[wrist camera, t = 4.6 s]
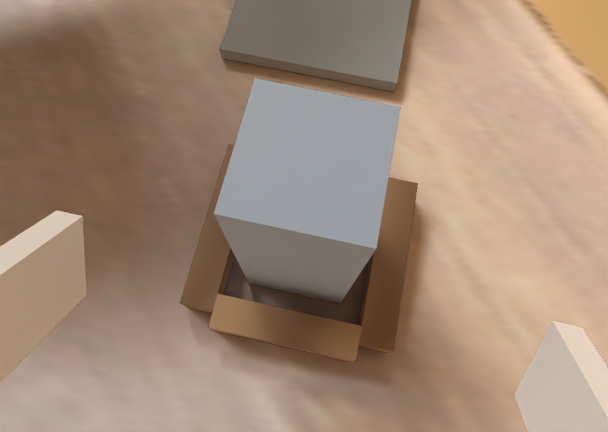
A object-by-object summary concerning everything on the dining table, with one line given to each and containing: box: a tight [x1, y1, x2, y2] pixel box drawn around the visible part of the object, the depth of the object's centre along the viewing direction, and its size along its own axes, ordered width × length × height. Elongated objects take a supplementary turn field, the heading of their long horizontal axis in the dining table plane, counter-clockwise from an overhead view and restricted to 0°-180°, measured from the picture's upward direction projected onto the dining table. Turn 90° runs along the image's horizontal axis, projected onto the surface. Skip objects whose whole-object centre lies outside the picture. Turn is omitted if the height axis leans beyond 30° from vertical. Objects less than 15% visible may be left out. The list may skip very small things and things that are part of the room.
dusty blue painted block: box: [214, 78, 400, 303], centre depth 18 cm, size 4×4×10 cm
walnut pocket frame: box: [180, 145, 418, 362], centre depth 22 cm, size 10×10×2 cm
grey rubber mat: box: [220, 0, 412, 92], centre depth 27 cm, size 10×10×1 cm
